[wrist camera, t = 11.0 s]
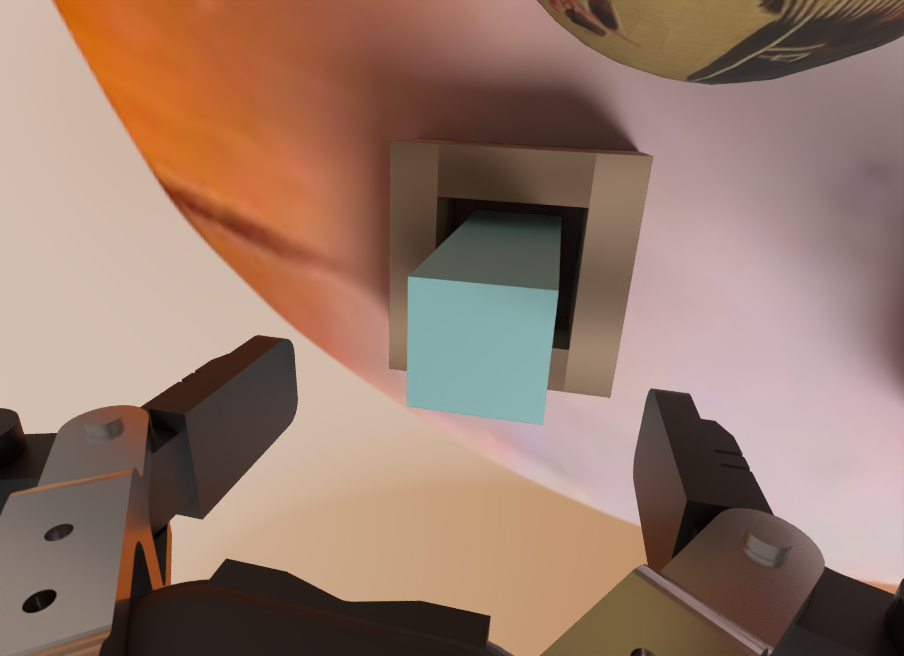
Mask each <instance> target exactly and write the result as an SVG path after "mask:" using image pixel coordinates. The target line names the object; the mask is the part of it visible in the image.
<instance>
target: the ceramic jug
mask: <svg viewBox="0 0 904 656" xmlns="http://www.w3.org/2000/svg"><path fill="white" fill-rule="evenodd" d="M537 1H538V2H539V3H540V4H541V5H542V6H543V7H544V9H545V10H546V11H547V12H548V13H549V14H550V15H551V16H552V17H553V19H554V20H555V21H556V22H557V23H559V24H560V25H561V26H562V27H564V28H565V29H566V30H567V31H569V32H570V33H571V34H572V35H574V36H575V37H576V38H577V39H579V40H580V41H581V42H582V43H584V44H585V45H586V46H588V47H590V48H592V49H594V50H595V51H597V52H599V53H601V54H603V55H605V56H606V57H608V58H610V59H612V60H614V61H616V62H618V63H620V64H623V65H626V66H629V67H632V68H635V69H638V70H641V71H645V72H648V73H651V74H654V75H657V76H660V77H663V78H668V79H673V80H679V81H684V82H695V83H703V84H710V85H713V84H727V83H741V82H751V81H761V80H771V79H776V78H780V77H783V76H787V75H790V74H794V73H797V72H801V71H804V70H807V69H811V68H814V67H818V66H821V65H825V64H828V63H831V62H834V61H838V60H841V59H844V58H847V57H850V56H853V55H856V54H859V53H862V52H865V51H868V50H871V49H874V48H877V47H880V46H882V45H884V44H887V43H889V42H891V41H894V40H896V39H898V38H900V37H902V36H904V0H537Z"/></svg>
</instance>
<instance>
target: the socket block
mask: <svg viewBox="0 0 904 656" xmlns="http://www.w3.org/2000/svg"><path fill="white" fill-rule="evenodd" d="M652 160H653V156H650V155H648V154H645V153H642V152H639V151H622V150H605V149H587V148H569V147H551V146H533V145H516V144H498V143H480V142H462V141H444V140H427V139H409V140H398V141H390V243H389V369H396V370H403V371H407V333H408V276H409V275H410V274H411V273H412V272H413V271H414V270H415V269H416V268H417V267H418V266H419V265H421V264H422V263H423V262H424V261H425V260H426V259H427V258H428V257H429V256H430V255H431V254H432V253H433V252H434V251H435V250H436V249H437V248H438V247H439V246H440V245H441V244H442V243H443V242H444V241H445V240H446V239H447V238H448V237H450V236H451V235H452V234H453V233H454V216H455V198H464V199H477V200H491V201H504V202H518V203H531V204H544V205H558V206H571V207H584V209H583V217H582V224H581V231H580V239H579V246H578V253H577V261H576V268H575V275H574V283H573V290H572V297H571V305H570V312H569V319H567V318H558V317H556V318H555V326H554V335H553V343H552V351H551V360H550V368H549V377H548V385H547V390H555V391H562V392H570V393H577V394H585V395H592V396H600V397H608V398H610V396H611V390H612V385H613V379H614V374H615V368H616V362H617V357H618V351H619V345H620V340H621V334H622V329H623V323H624V317H625V312H626V306H627V300H628V295H629V289H630V284H631V278H632V272H633V267H634V261H635V255H636V250H637V244H638V239H639V233H640V227H641V222H642V216H643V210H644V205H645V199H646V194H647V188H648V182H649V177H650V171H651V165H652Z"/></svg>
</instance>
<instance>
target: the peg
mask: <svg viewBox="0 0 904 656" xmlns="http://www.w3.org/2000/svg"><path fill="white" fill-rule="evenodd" d="M560 243H561V216H548V215H534V214H520V213H506V212H492V211H478V210H476V211H475V212H474V213H473V214H472V215H471V216H470V217H469V218H468V219H467V220H466V221H465V222H464V223H463V224H462V225H461V226H460V227H459V228H458V229H457V230H456V231H455V232H454V233H453V234H452V235H451V236H450V237H448V238H447V239H446V240H445V241H444V242H443V243H442V244H441V245H440V246H439V247H438V248H437V249H436V250H435V251H434V252H433V253H432V254H431V255H430V256H429V257H428V258H427V259H426V260H425V261H424V262H423V263H422V264H421V265H419V266H418V267H417V268H416V269H415V270H414V271H413V272H412V273H411V274H410V275H409V276H408V333H407V407H414V408H421V409H428V410H435V411H443V412H450V413H457V414H464V415H472V416H479V417H486V418H493V419H501V420H508V421H515V422H522V423H529V424H537V425H543V418H544V410H545V402H546V393H547V385H548V377H549V368H550V360H551V351H552V343H553V335H554V326H555V318H556V309H557V301H558V293H559V270H560Z"/></svg>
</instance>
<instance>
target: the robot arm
mask: <svg viewBox="0 0 904 656" xmlns="http://www.w3.org/2000/svg"><path fill="white" fill-rule="evenodd" d="M297 404H298V395H297V383H296V370H295V354H294V347H293V344H292V342H291V341H290V340H289V339H283V338H276V337H268V336H261V335H257V336H254V337H253V338H251V339H250V340H248V341H247V342H246V343H244V344H243V345H241V346H240V347H238V348H237V349H235V350H234V351H232V352H231V353H229V354H226V355H224V356H221V357H218V358H215V359H213V360H211V361H209V362H208V363H206V364H205V365H203V366H202V367H200V368H199V369H197V370H196V371H195V373H191V374H190V375H188V376H187V377H185V378H184V379H182V382H178V383H176V384H174V385H173V386H171V387H170V388H168V389H167V390H165V391H164V392H163V393H161V394H160V395H158V396H156V397H155V398H154V399H152V400H150V401H149V402H147V403H146V404H144V405H143V406H141V407H136V406H129V405H118V406H109V407H104V408H99V409H95V410H92V411H89V412H86V413H84V414H81V415H79V416H77V417H75V418H73V419H71V420H70V421H68V422H67V423H65V424H64V425H63V426H62V427H61V428H60V430H59V431H58V433H49V434H48V433H47V434H24V432H23V429H22V426H21V422H20V419H19V416H18V414H17V413H16V412H15V411H12V410H10V409H4V408H3V409H2V408H0V656H514V655H512V654H511V653H509V652H507V651H506V650H504V649H503V648H501V647H500V646H498V645H495V644H494V643H492V642H490V641H488V637H489V627H490V617H491V616H488V615H483V614H479V613H474V612H470V611H465V610H461V609H456V608H451V607H447V606H442V605H438V604H433V603H428V602H424V601H376V602H375V601H373V602H371V601H370V602H349V601H343V600H341V599H338V598H336V597H334V596H332V595H331V594H329V593H327V592H325V591H323V590H321V589H319V588H317V587H315V586H313V585H311V584H309V583H307V582H306V581H304V580H302V579H300V578H298V577H296V576H294V575H292V574H290V573H288V572H286V571H281V570H277V569H271V568H267V567H263V566H258V565H254V564H249V563H244V562H240V561H235V560H230V559H226V560H225V561H224V562H223V563H222V564H221V566H220V567H219V568H218V569H217V571H216V572H215V573H214V574H213V576H212V577H211V578H210V580H197V581H189V582H184V583H178V584H174V585H171V556H172V553H171V552H172V532H171V526H170V520H171V519H172V518H173V517H174V516H175V515H176V514H178V515H183V516H188V517H193V518H198V519H203V518H204V517H205V516H206V515H207V514H208V513H209V512H210V511H211V510H212V509H213V508H214V506H215V505H216V504H217V503H218V502H219V501H220V500H221V499H222V498H223V497H224V496H225V495H226V494H227V492H228V491H229V490H230V489H231V488H232V487H233V486H234V485H235V484H236V483H237V482H238V480H240V478H241V477H242V476H243V475H244V474H245V473H246V472H247V471H248V470H249V469H250V468H251V467H252V465H253V464H254V463H255V462H256V461H257V460H258V459H259V458H260V457H261V455H263V454H264V452H265V451H266V450H267V449H268V448H269V447H270V446H271V445H272V444H273V443H274V442H275V441H276V439H277V438H278V437H279V436H280V435H281V434H282V433H283V432H284V431H285V430H286V429H287V427H288V426H289V425H290V424H291V423H292V421H293V419H294V416H295V414H296V410H297ZM633 479H634V487H635V492H636V498H637V504H638V510H639V516H640V522H641V527H642V533H643V539H644V545H645V551H646V556H647V562H648V565H646V564H643V565H640V566H638V567H637V568H635V569H634V570H633V571H632V572H631V573H630V574H629V575H627V576H626V577H625V578H624V579H623V580H622V581H621V582H620V583H619V584H618V585H616V586H615V587H614V588H613V589H612V590H611V591H610V592H609V593H608V594H607V595H606V596H605V597H603V598H602V599H601V600H600V601H599V602H598V603H597V604H596V605H595V606H594V607H593V608H592V609H591V610H589V611H588V612H587V613H586V614H585V615H584V616H583V617H582V618H581V619H580V620H578V621H577V622H576V623H575V624H574V625H573V626H572V627H571V628H570V629H569V630H568V631H566V632H565V633H564V634H563V635H562V636H561V637H560V638H559V639H558V640H557V641H556V642H555V643H553V644H552V645H551V646H550V647H549V648H548V649H547V650H546V651H545V652H544V653H542V654H541V655H540V656H904V579H903V580H902V581H901V583H900V585H899V587H898V589H897V591H896V594H895V595H894V594H892V593H889V592H887V591H884V590H881V589H879V588H876V587H873V586H871V585H868V584H866V583H863V582H860V581H858V580H855V579H852V578H850V577H847V576H845V575H842V574H840V573H838V572H835V571H833V570H831V569H829V568H827V567H825V562H824V558H823V555H822V553H821V551H820V549H819V548H818V547H817V545H816V544H815V543H814V542H813V541H812V540H811V539H810V538H809V537H808V536H807V535H806V534H805V533H803V532H802V531H801V530H799V529H798V528H797V527H795V526H794V525H792V524H790V523H788V522H787V521H785V520H783V519H781V518H779V517H776V516H774V514H773V512H772V510H771V508H770V506H769V505H768V503H767V501H766V499H765V497H764V495H763V493H762V491H761V489H760V487H759V485H758V483H757V481H756V479H755V477H754V475H753V473H752V472H750V467H749V465H748V464H747V462H746V460H745V458H744V457H742V452H741V450H740V448H739V446H738V444H737V442H736V440H735V438H734V437H733V436H732V435H731V434H730V433H729V432H728V431H726V430H725V429H724V428H723V427H722V426H721V425H719V424H718V423H717V422H716V421H712V420H705V419H701V418H700V416H699V414H698V411H697V409H696V407H695V404H694V402H693V400H692V397H691V395H690V394H689V393H682V392H674V391H667V390H659V389H652V388H651V389H650V390H649V392H648V395H647V399H646V403H645V408H644V413H643V417H642V422H641V427H640V432H639V436H638V441H637V446H636V451H635V457H634V467H633Z"/></svg>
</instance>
